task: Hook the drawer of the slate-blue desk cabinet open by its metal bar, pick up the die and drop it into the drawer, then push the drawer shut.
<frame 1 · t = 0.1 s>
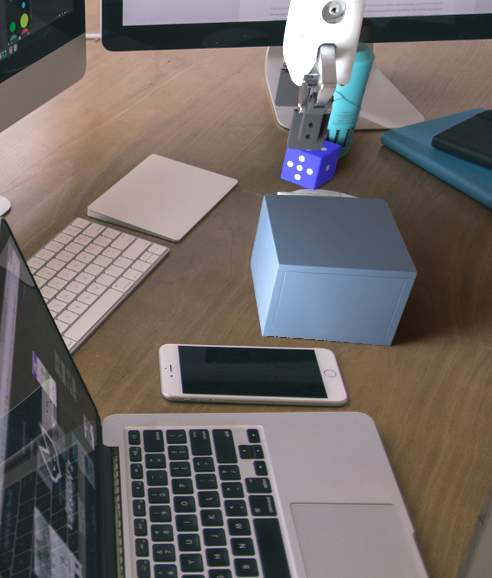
hand: (296, 125, 79), 20 cm above the table, tool pointing down, fingers open, 9 cm apart
die: (306, 179, 108), on the table
cabinet: (315, 301, 87), on the table
beverage bottle: (322, 159, 112), on the table
drawer: (317, 242, 88), point 5 cm above the table, slide at 0.5 cm
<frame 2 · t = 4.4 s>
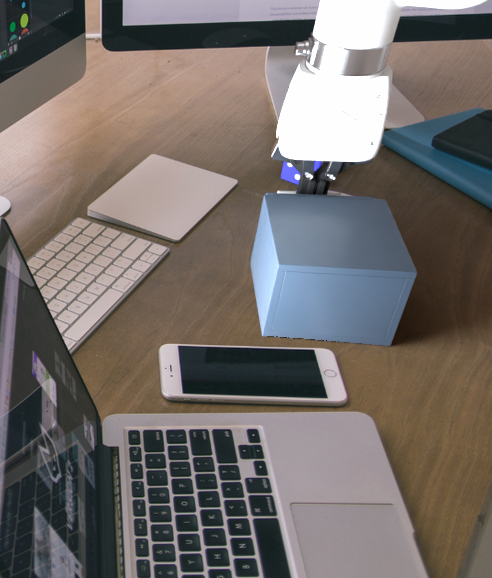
hand: (308, 204, 92), 6 cm above the table, tool pointing down, fingers closed
drawer: (317, 241, 88), point 5 cm above the table, slide at 0.8 cm
everything else where it was.
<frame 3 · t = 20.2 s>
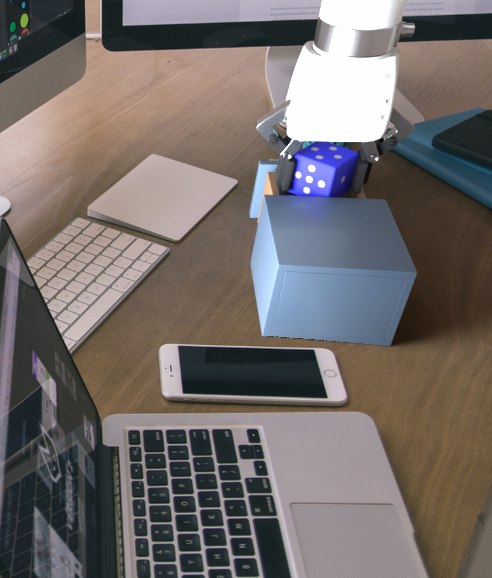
hand: (318, 185, 90), 9 cm above the table, tool pointing down, fingers closed on die, 6 cm apart
die: (317, 192, 91), point 8 cm above the table, touching gripper
drawer: (306, 204, 94), point 5 cm above the table, slide at 8.7 cm
everything else where it was.
when the fingers open (9 cm above the table, at t = 27.6 s): die drops 6 cm, resting on drawer.
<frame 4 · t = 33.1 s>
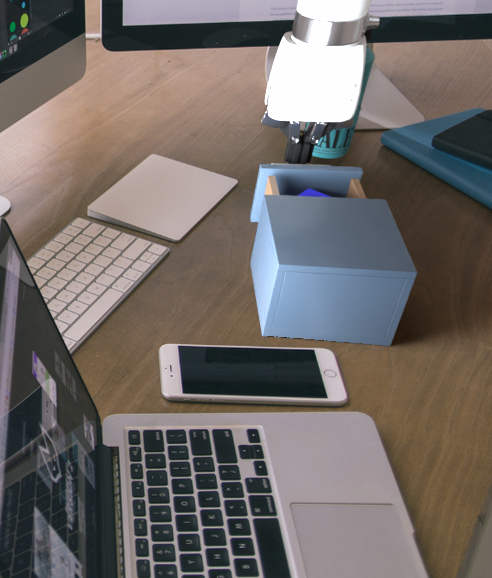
hand: (295, 166, 101), 5 cm above the table, tool pointing down, fingers closed
die: (306, 239, 93), point 2 cm above the table, touching drawer
drawer: (308, 209, 93), point 5 cm above the table, slide at 7.7 cm, touching die
everything else where it was.
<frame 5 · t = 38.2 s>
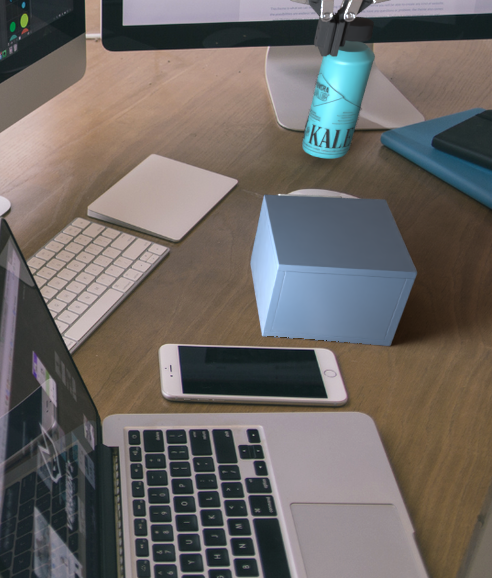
hand: (327, 51, 90), 21 cm above the table, tool pointing down, fingers closed
die: (317, 277, 88), point 2 cm above the table, touching drawer
drawer: (318, 245, 87), point 5 cm above the table, slide at 0.0 cm, touching cabinet, die
everything else where it was.
at the end: die inside the target area in the cabinet (2.0 cm from its centre), point 1.8 cm above the cabinet's base; drawer slide at 0.0 cm; the gripper is holding nothing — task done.
